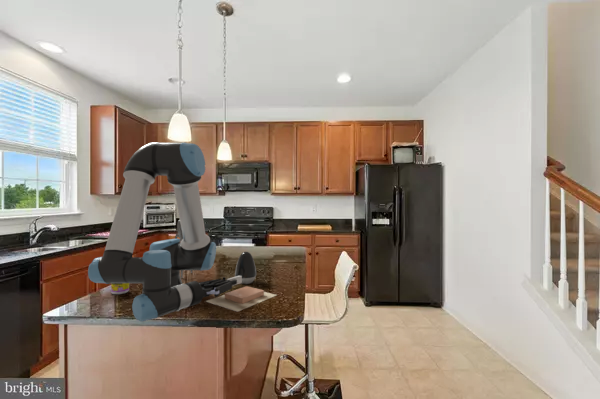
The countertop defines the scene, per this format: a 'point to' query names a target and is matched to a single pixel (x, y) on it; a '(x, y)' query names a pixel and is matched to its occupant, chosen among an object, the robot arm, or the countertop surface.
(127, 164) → the robot arm
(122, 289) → the supplement bottle
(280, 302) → the countertop surface
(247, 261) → the black glossy egg shape
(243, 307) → the cloth
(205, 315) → the countertop surface
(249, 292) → the tile
